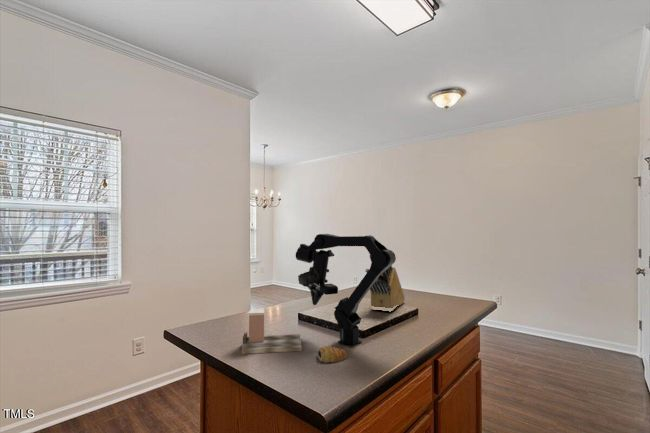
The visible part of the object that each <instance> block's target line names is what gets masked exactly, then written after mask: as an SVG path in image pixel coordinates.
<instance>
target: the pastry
mask: <svg viewBox="0 0 650 433" xmlns="http://www.w3.org/2000/svg"><path fill="white" fill-rule="evenodd" d="M316 355H317V359H318V360H319V361H320V362H322V363H325V364H326V363H327V364H328V363H336V362H341V361H343V360H345V359H346V358H347V352H346V350H345V349H342V348H338V347H334V346H331V345H328V346H323V347H319V348H318V350H317V354H316Z"/></svg>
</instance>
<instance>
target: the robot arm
mask: <svg viewBox="0 0 650 433" xmlns="http://www.w3.org/2000/svg"><path fill="white" fill-rule="evenodd" d="M336 247H364V248H365V249H366V250H367V252H368V254H369V256H370V255H371V256H372V257H373V260H372V262H371V264H370V266H369V268H368V269H369V271H368V272H366V274H365V275H364V277H363V278H362V279H361V281H360V282H359V283H358V285H357V286H356V287H355V289H354V290H353V291H352V292H351V294H350V296H349V297H348V296H346V297H344V298H342V299H340V300H339V302H338V304H337V306H335V307H334V312H333V316H334V319H335V321H336V322H337V325H338V326H337V327H338V328H339V340H337V343H338V344H340V345H343V346H346V347H347V348H348V347H349V348H351V347H354V346H357V345H360V344H362V341H361V340H360V339H359V336H360V335H359V333H360V332H359V326H358V325H360V323H361V321H362V318H361V316H360V315H359V314H358V313H357V311H358V309H359V305H360V303H361V302H362V300H363V299H364V298H365V297H366V295H367V294H368V292H369V291H370V288H371V287H372V285H373V284H374V283H375V281H376V280H377V279H378V277H379V276H380V275H381V274H382V273H383V272H384V271H386V270H387V269H388V268H389V267H390V266H391V265H392V266H393V264H394V263H395V262H396V259H397V257H396V254H395V252H394V251H393V250H391V249H388V248H387V247H386V246H385V245H384V244H382V243H381V242H379V241H378V240H377V239H376V238H375V236H373V235H370V234H369V235H357V236H355V235H354V236H353V235H352V236H350V235H349V236H339V235H335V234H330V233H318V234H316V236H315V237H314V240H313V241H312V242H311V243H310V244H309V245H308V244H306V243H300V245H299V247H298V248H297V250H296V251H295V259H296V260H297V261H300V262H304V263H308V264H312V266H310V267H309V269H308V271H305V272H302V273H300V274H299V275H298V276H297V278H298V284H299V285H301V286H303V287H306V288H308V289H309V291H310V296H311V302H312V305H313V306H317V304H318V303H319V301H320V300H321V298H322V297H323V295H336V294H337V295H338V292H339V287H338V286H337V285H335V284H333V283H328V280H329V279H326V278H327V273H330V269H329V268H328V266H329V258H333V257H334V256H335V254H334V252H332V250H331V248H332V249H333V248H336ZM325 249H328V250H325ZM318 250H319V251H318Z"/></svg>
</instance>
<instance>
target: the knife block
mask: <svg viewBox="0 0 650 433" xmlns="http://www.w3.org/2000/svg"><path fill="white" fill-rule="evenodd" d="M369 259H370V262H371V263H372V260H373V257H372V256H371V255H370V254H369ZM369 269H370V268H366V269H365V273H367V272H368V271H369ZM369 291H370V307H371V306H374V307H385V308H393V307H394V306H396V305H400V306H401V305H402V304H404V302H405V295H404V292H403V288H402V285H401V282H400V278H399V276H398V271H397V269H396V267H394V266H393V264H392V265H391V266H390V267H389V268H388V269H387V270H386V271H384V272H383V273H382V274H381V275H380V276H379V277H378V279H377V280H376V281H375V283H374V284H373V285H372V287H371V288H370V289H369Z"/></svg>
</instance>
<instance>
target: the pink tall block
mask: <svg viewBox="0 0 650 433" xmlns="http://www.w3.org/2000/svg"><path fill="white" fill-rule="evenodd" d="M265 310H266V309H265V308H251V309H249V310H248V311H249V312H248V336H249V343H263V342H264V336H265V312H266V311H265Z"/></svg>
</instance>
